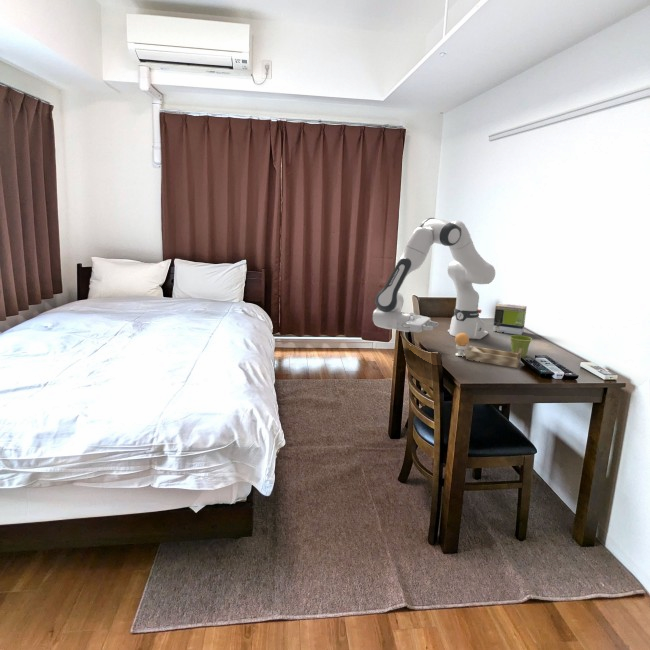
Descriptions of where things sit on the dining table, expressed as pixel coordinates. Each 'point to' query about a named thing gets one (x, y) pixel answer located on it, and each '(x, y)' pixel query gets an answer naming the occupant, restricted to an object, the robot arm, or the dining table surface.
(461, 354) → the tee
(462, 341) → the ball
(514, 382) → the dining table surface
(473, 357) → the lane
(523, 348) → the plant pot
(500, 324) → the white retro computer
